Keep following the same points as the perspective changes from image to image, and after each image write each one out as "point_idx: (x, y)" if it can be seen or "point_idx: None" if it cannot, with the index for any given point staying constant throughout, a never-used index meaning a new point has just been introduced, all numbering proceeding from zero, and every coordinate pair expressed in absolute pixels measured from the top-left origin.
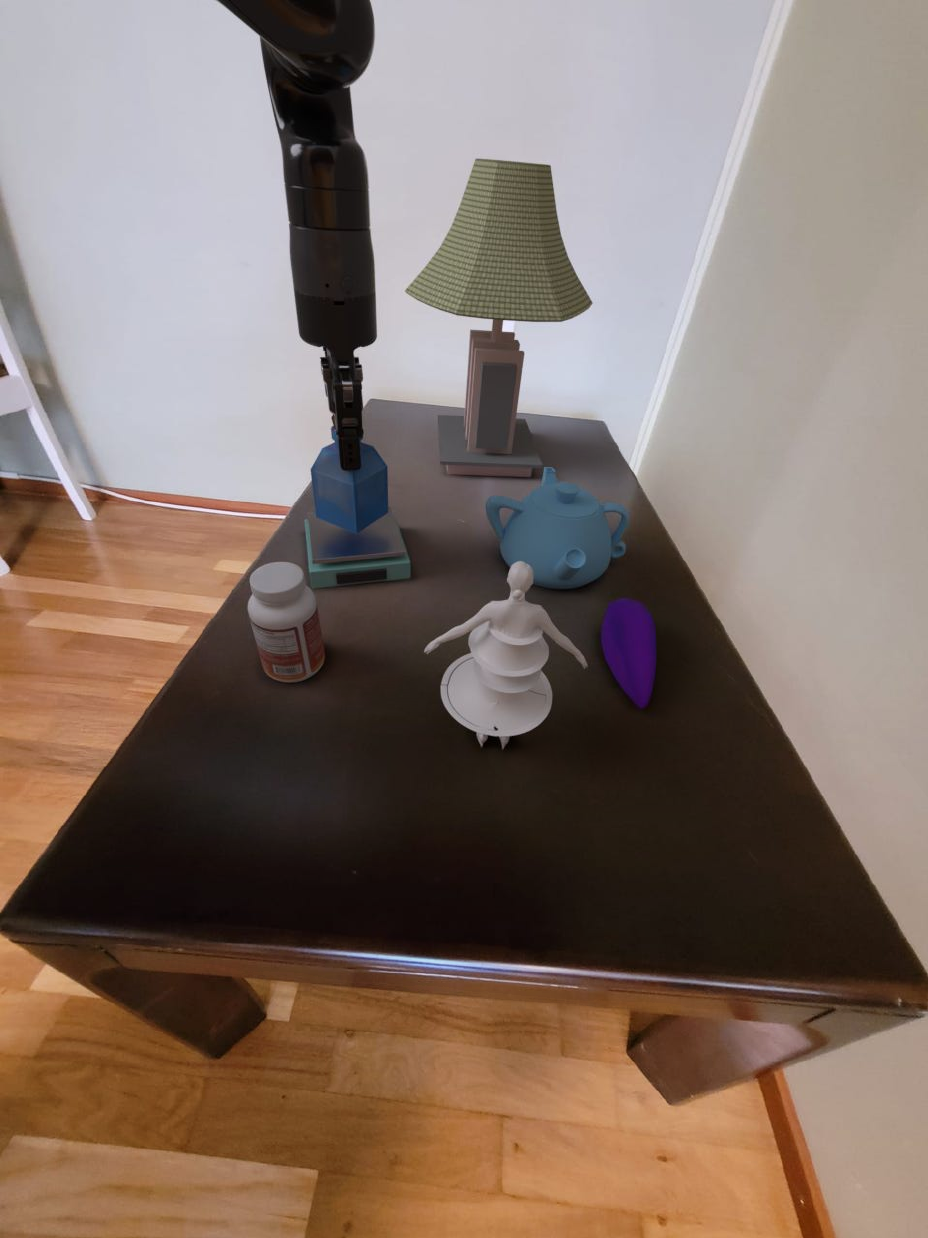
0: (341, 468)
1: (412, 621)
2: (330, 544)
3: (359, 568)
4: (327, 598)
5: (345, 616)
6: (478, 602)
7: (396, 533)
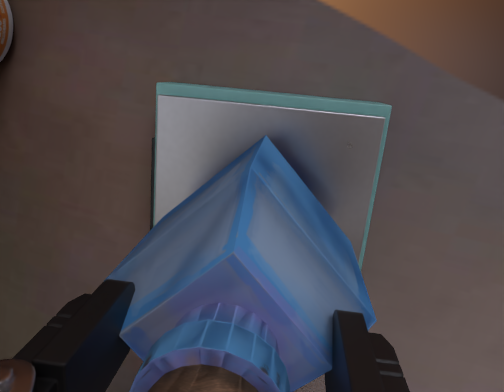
0: (108, 279)
1: (48, 237)
2: (213, 148)
3: (154, 189)
4: (135, 107)
5: (77, 130)
6: None
7: None
